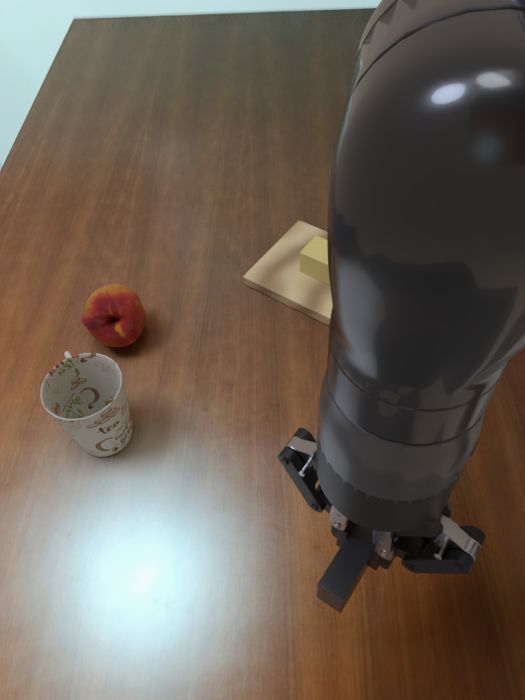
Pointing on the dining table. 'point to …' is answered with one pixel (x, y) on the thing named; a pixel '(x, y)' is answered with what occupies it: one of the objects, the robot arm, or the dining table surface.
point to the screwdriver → (346, 568)
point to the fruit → (114, 315)
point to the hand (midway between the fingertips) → (363, 546)
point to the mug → (89, 402)
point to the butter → (315, 259)
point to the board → (292, 275)
